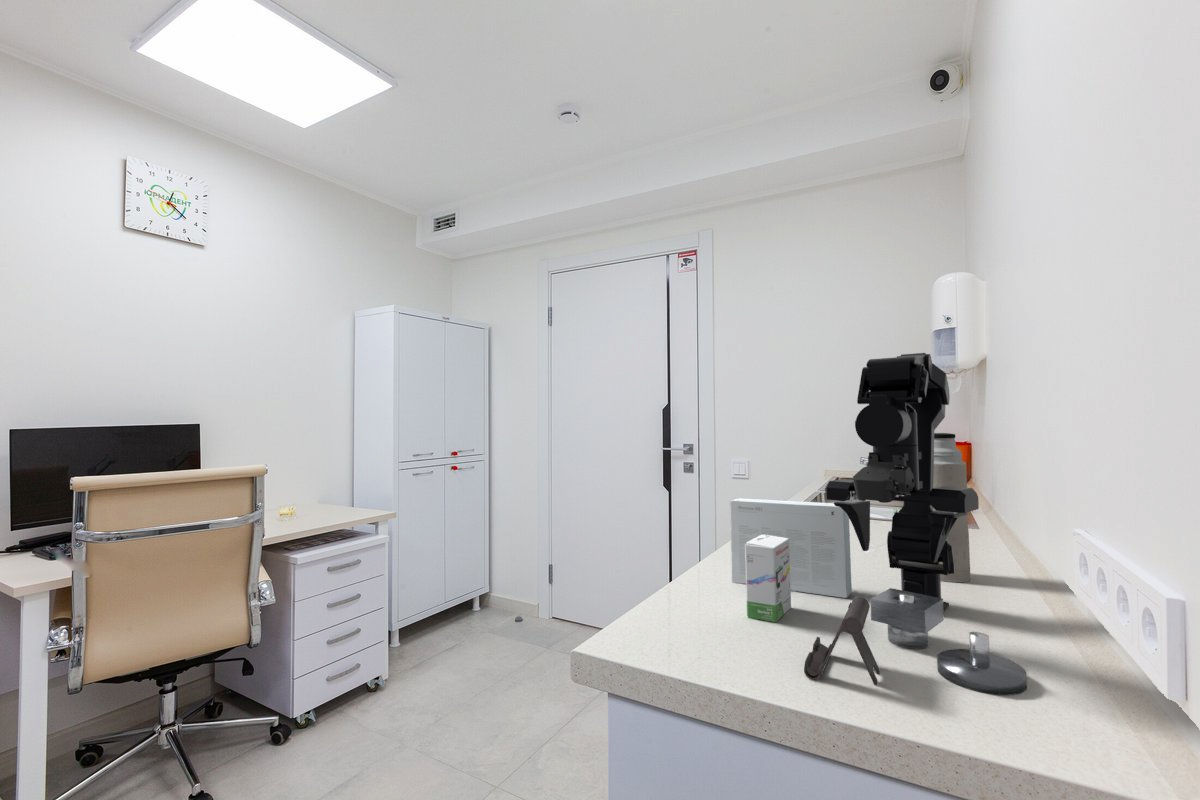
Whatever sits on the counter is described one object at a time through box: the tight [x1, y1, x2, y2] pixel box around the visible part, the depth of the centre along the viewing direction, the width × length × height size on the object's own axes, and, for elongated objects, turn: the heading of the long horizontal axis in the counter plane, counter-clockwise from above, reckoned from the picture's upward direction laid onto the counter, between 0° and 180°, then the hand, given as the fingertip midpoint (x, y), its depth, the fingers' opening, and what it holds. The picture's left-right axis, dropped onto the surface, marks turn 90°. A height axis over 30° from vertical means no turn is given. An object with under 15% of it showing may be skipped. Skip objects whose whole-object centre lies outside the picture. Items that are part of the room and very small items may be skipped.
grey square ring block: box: [870, 587, 945, 634], centre depth 79 cm, size 7×7×3 cm
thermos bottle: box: [933, 432, 972, 583], centre depth 111 cm, size 8×8×28 cm
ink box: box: [745, 535, 792, 623], centre depth 92 cm, size 8×5×12 cm, turn 145°
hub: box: [936, 631, 1028, 696], centre depth 69 cm, size 9×9×5 cm
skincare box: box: [729, 497, 853, 599], centre depth 106 cm, size 21×6×16 cm, turn 58°
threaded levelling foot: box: [887, 593, 929, 650], centre depth 79 cm, size 5×5×6 cm
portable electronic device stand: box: [803, 596, 881, 686], centre depth 71 cm, size 9×8×8 cm
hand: (898, 556), depth 80 cm, fingers open, 9 cm apart
